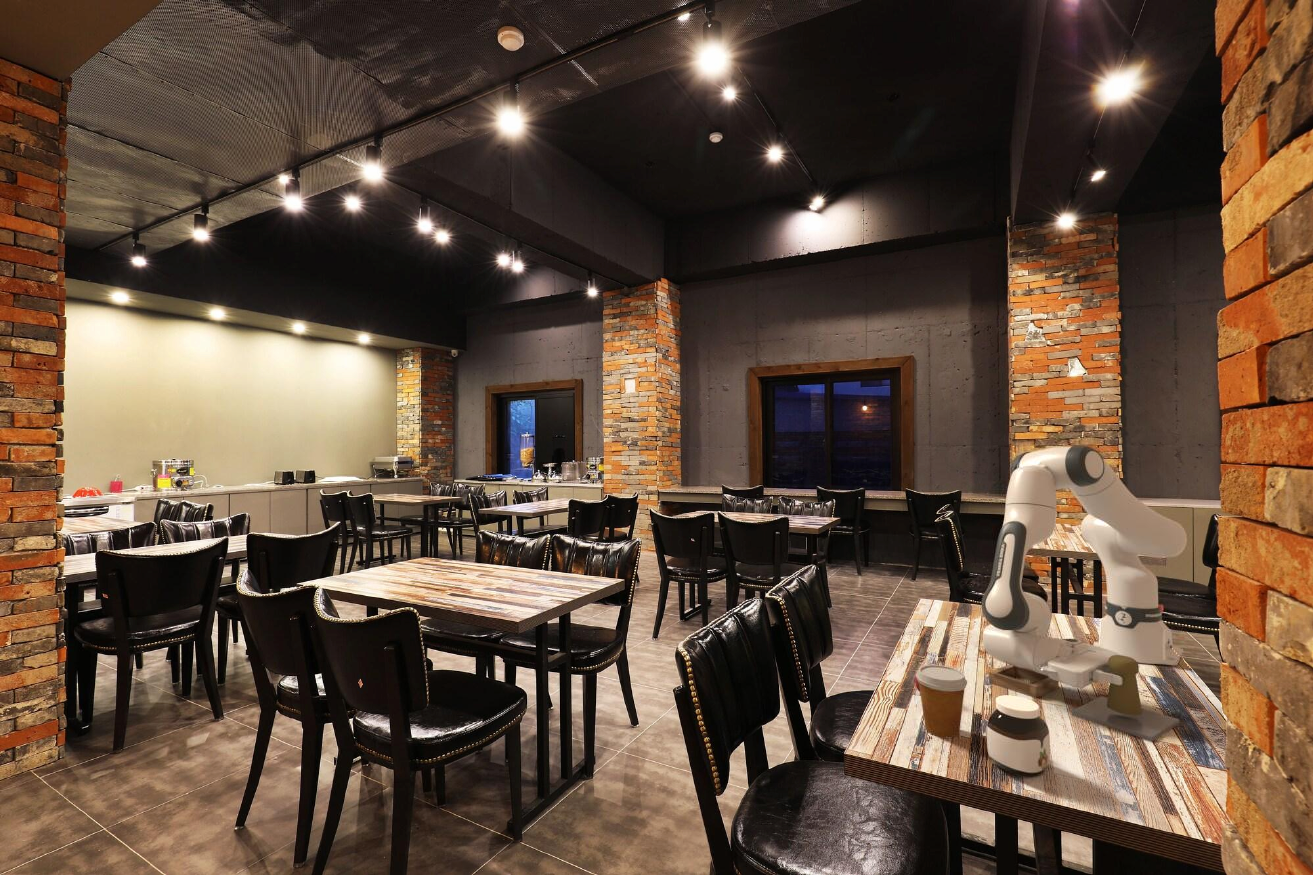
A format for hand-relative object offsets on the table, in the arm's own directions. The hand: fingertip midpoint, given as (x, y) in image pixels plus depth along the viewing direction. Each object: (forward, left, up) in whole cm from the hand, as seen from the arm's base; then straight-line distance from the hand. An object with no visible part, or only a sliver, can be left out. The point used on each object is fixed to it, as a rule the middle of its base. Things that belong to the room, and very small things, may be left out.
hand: (1128, 678), depth 126 cm
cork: (0, -1, -7) cm, 7 cm away
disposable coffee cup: (+37, -19, -9) cm, 43 cm away
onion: (+25, -30, -9) cm, 40 cm away
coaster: (0, -1, -9) cm, 9 cm away
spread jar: (+37, -5, -9) cm, 39 cm away
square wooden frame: (-1, -22, -9) cm, 24 cm away
